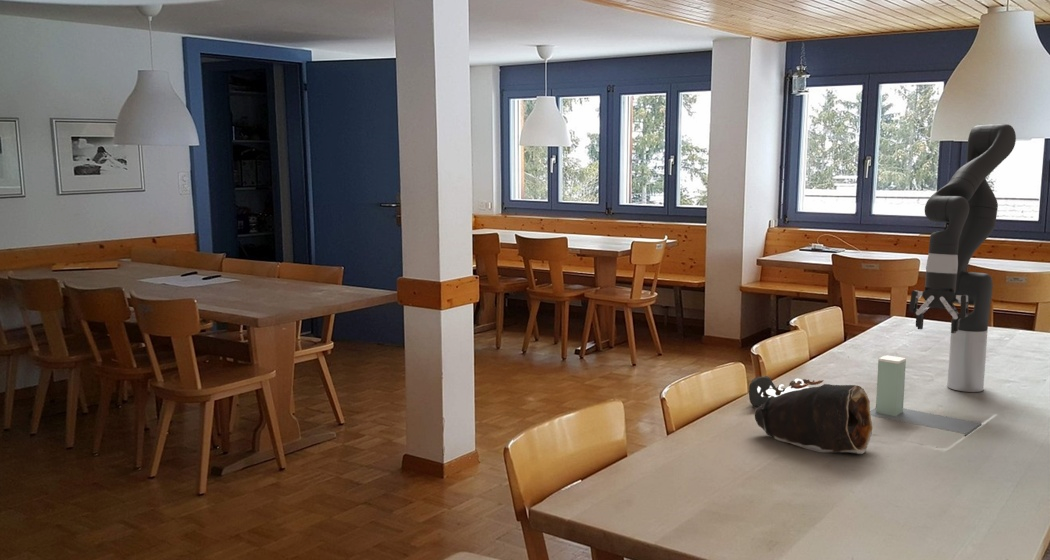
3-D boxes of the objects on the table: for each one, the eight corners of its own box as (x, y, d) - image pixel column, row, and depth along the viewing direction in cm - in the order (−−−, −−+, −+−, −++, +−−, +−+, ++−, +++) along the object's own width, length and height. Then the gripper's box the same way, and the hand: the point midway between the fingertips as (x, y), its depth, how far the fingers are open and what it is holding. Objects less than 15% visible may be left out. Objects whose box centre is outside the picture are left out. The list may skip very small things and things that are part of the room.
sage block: (883, 408, 224) (886, 355, 222) (902, 411, 220) (906, 358, 219) (875, 412, 220) (878, 358, 218) (895, 416, 217) (898, 361, 215)
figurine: (764, 373, 236) (827, 373, 223) (767, 408, 236) (830, 410, 223) (737, 379, 226) (801, 379, 214) (740, 415, 226) (804, 417, 213)
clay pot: (762, 377, 210) (865, 374, 194) (774, 437, 212) (878, 439, 196) (735, 398, 199) (843, 396, 183) (749, 461, 201) (856, 464, 184)
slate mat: (882, 406, 227) (882, 404, 227) (981, 425, 211) (981, 422, 211) (864, 416, 219) (864, 413, 219) (966, 436, 202) (966, 433, 202)
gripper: (974, 272, 229) (969, 333, 230) (918, 268, 238) (913, 326, 240) (966, 273, 223) (960, 335, 225) (909, 269, 233) (904, 328, 234)
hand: (936, 331), depth 232 cm, fingers open, 8 cm apart
